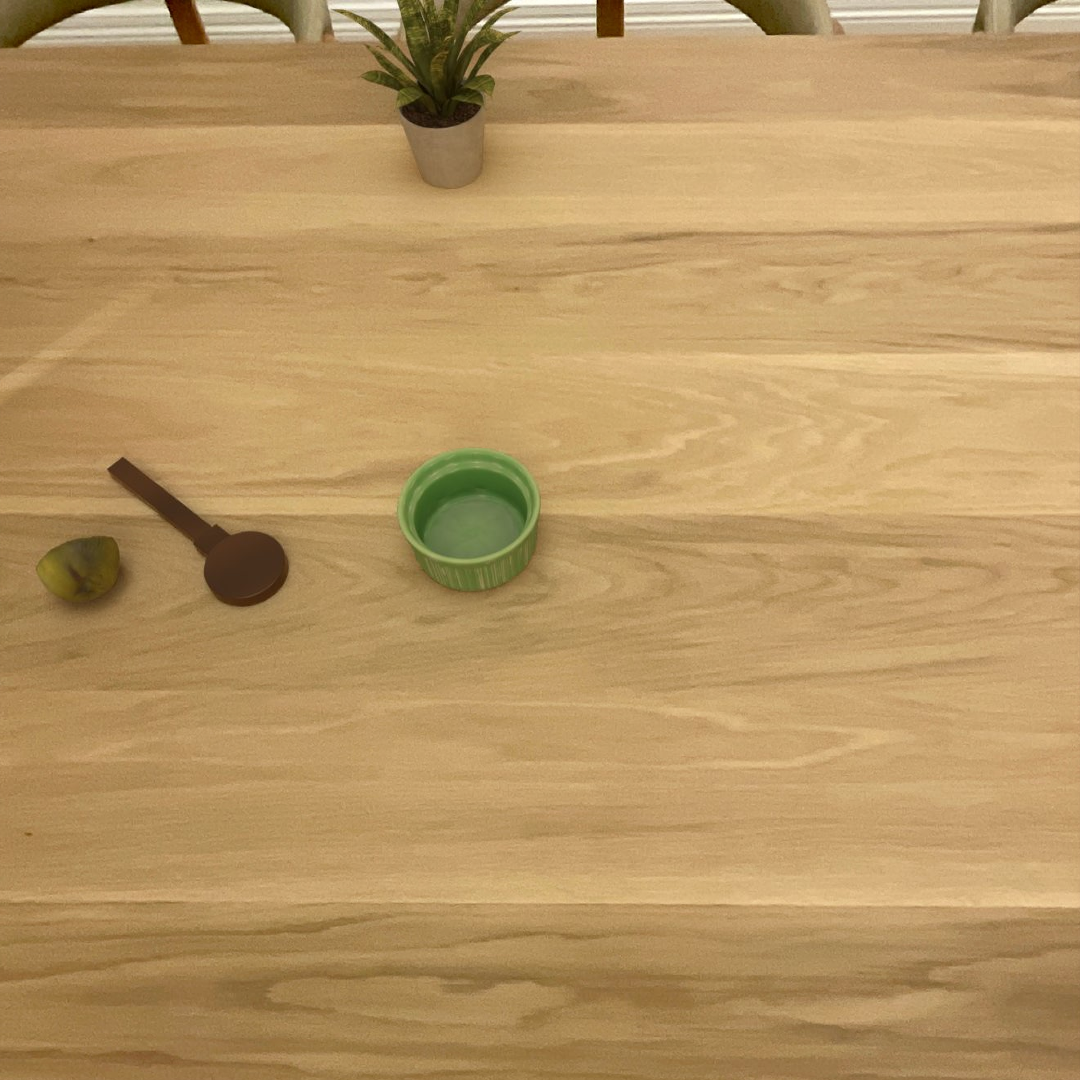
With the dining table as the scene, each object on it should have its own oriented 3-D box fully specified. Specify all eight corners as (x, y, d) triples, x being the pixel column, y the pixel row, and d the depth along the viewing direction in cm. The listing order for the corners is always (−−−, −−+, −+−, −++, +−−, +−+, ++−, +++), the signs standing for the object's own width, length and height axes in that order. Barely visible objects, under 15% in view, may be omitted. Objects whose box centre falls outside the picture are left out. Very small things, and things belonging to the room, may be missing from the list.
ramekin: (437, 621, 73) (427, 584, 70) (388, 517, 78) (376, 477, 74) (567, 568, 75) (563, 529, 71) (511, 469, 79) (505, 427, 76)
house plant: (585, 152, 97) (578, -43, 83) (487, 250, 91) (461, 58, 77) (449, 96, 101) (421, -97, 88) (347, 186, 96) (299, -6, 82)
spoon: (88, 493, 79) (82, 484, 79) (148, 446, 82) (143, 437, 81) (244, 621, 74) (240, 612, 73) (305, 567, 76) (301, 558, 75)
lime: (45, 603, 75) (10, 560, 71) (91, 545, 77) (60, 500, 73) (102, 626, 74) (69, 584, 70) (147, 568, 76) (118, 523, 72)
